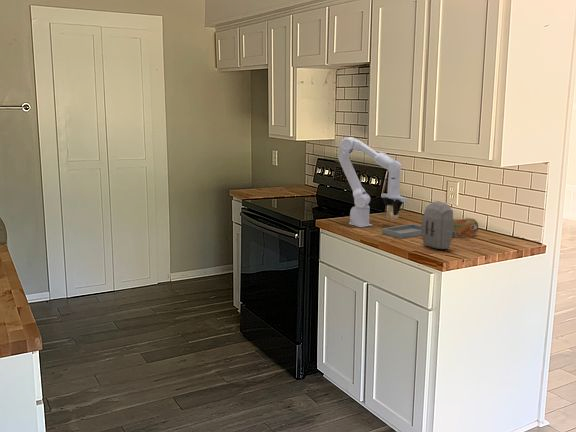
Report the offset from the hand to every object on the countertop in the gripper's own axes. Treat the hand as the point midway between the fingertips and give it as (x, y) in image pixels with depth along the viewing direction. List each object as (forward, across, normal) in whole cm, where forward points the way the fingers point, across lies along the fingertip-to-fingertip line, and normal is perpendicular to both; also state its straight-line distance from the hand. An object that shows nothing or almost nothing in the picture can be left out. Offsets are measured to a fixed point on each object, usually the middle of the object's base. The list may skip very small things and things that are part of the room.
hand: (392, 214), depth 276 cm
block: (+2, 0, 0) cm, 2 cm away
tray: (+7, -13, +3) cm, 15 cm away
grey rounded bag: (+7, -38, +12) cm, 40 cm away
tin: (+7, -30, -15) cm, 34 cm away
